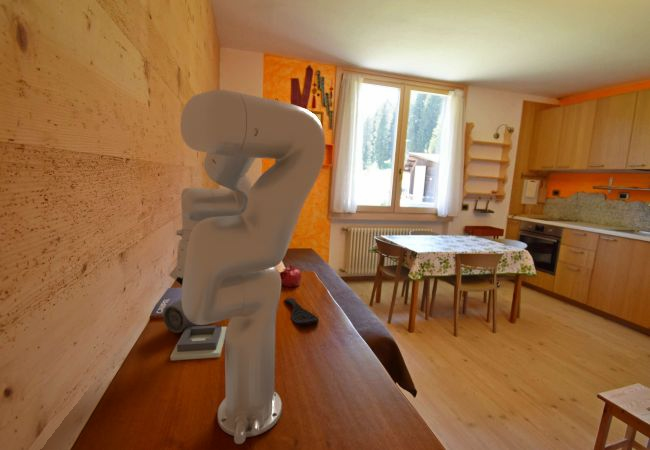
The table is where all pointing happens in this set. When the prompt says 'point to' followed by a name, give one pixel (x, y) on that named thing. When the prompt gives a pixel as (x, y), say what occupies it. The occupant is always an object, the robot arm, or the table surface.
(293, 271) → the pomegranate
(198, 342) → the socket board
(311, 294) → the table surface
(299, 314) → the hairbrush
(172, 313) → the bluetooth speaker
